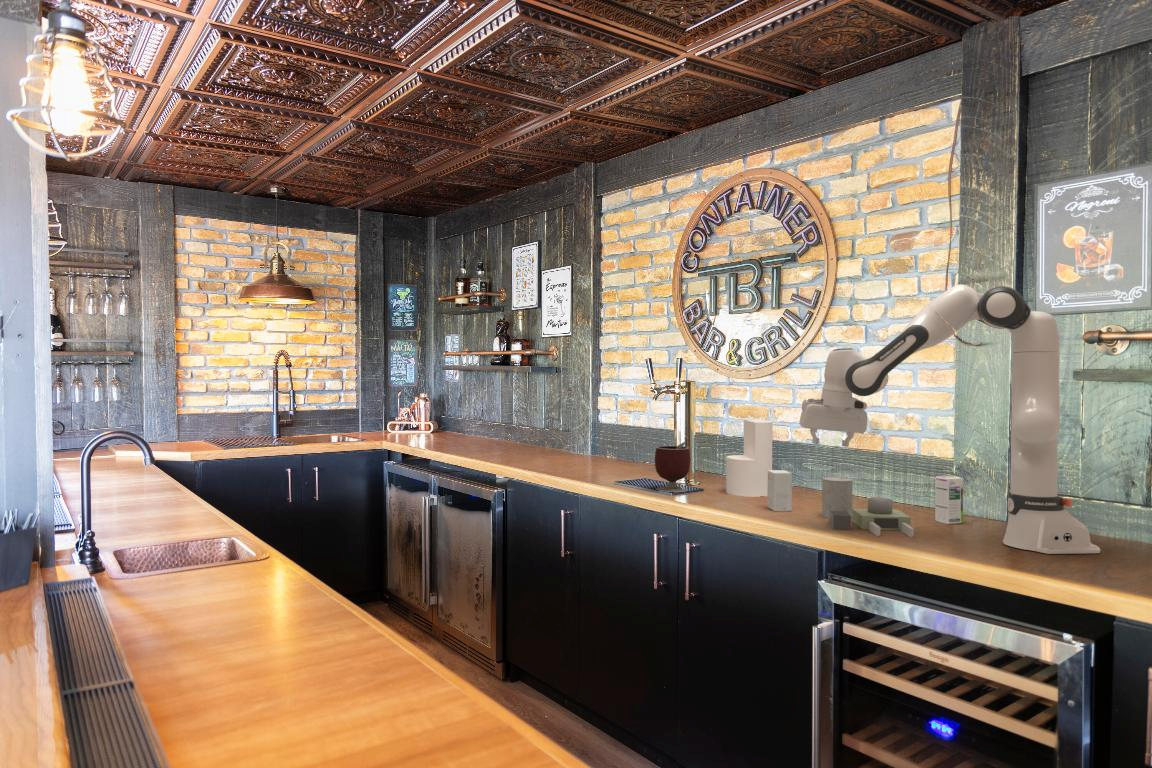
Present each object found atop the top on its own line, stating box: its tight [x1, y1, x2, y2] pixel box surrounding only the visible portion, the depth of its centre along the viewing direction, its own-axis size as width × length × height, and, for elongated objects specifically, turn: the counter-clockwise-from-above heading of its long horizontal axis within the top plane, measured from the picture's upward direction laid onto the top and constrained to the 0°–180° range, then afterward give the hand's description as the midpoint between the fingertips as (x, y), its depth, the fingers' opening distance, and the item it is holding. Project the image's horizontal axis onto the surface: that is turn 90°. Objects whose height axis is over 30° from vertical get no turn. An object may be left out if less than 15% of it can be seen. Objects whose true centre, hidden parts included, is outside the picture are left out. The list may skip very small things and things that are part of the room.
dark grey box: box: [828, 511, 852, 531], centre depth 230 cm, size 5×7×4 cm
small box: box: [766, 469, 793, 512], centre depth 259 cm, size 8×6×13 cm
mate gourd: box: [654, 441, 691, 492], centre depth 298 cm, size 16×14×20 cm
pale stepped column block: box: [725, 419, 774, 498], centre depth 293 cm, size 17×17×28 cm
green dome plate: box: [851, 496, 915, 538], centre depth 228 cm, size 14×21×8 cm, turn 173°
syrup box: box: [934, 475, 964, 525], centre depth 238 cm, size 6×6×14 cm
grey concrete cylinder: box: [821, 476, 854, 519], centre depth 247 cm, size 10×10×12 cm
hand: (830, 444), depth 233 cm, fingers open, 8 cm apart
